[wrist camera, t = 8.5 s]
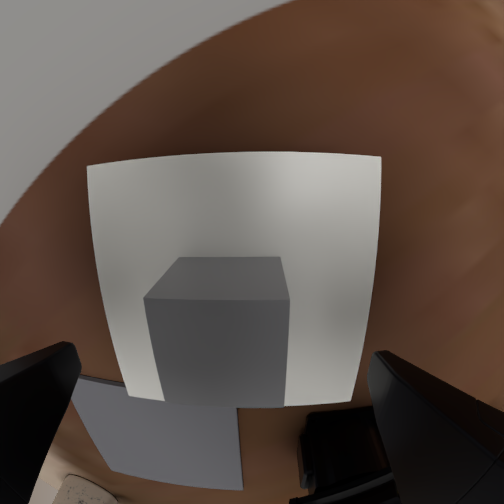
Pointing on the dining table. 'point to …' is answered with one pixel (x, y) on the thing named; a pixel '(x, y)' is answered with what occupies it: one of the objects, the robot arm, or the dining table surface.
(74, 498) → the teacup with lid
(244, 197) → the lid
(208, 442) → the mat
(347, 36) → the dining table surface
